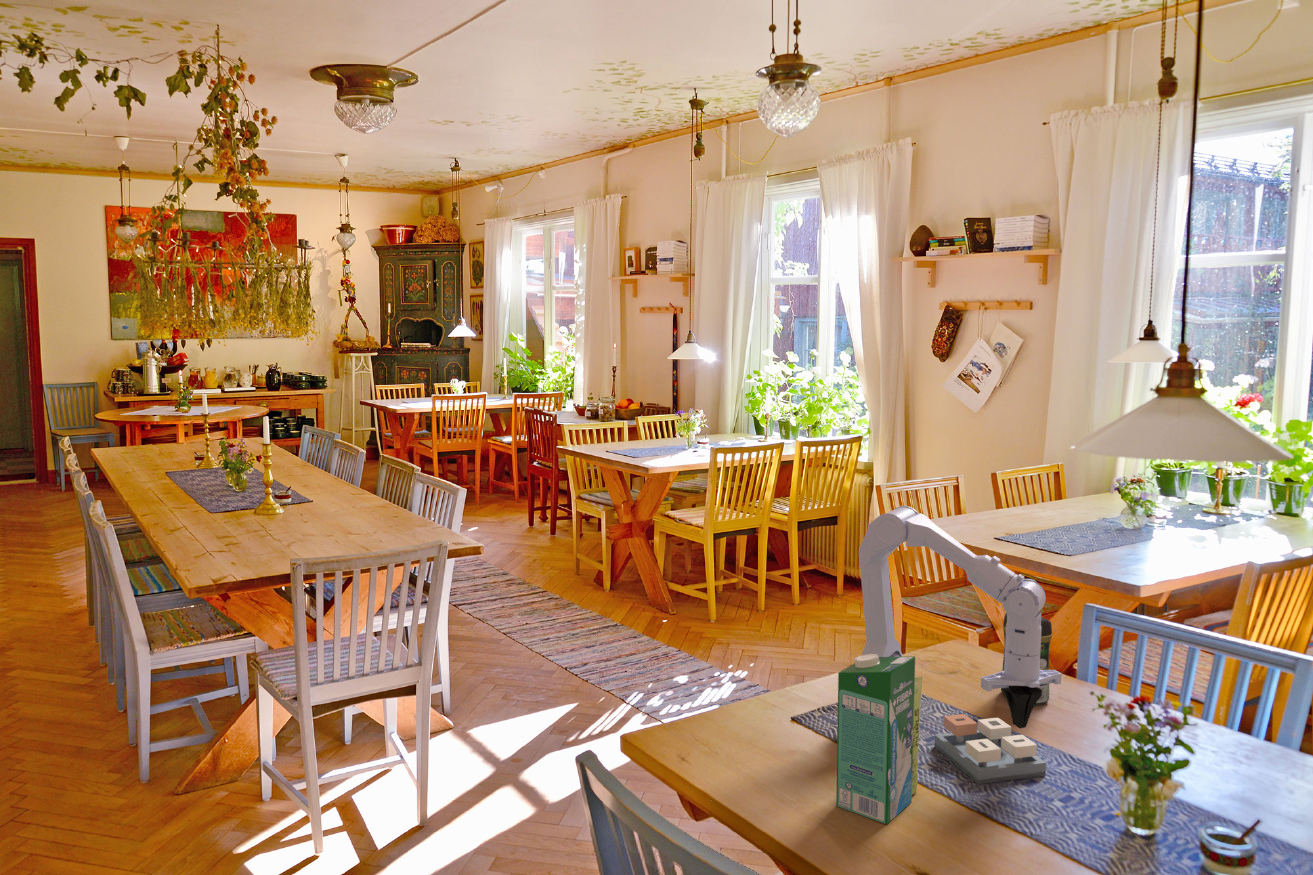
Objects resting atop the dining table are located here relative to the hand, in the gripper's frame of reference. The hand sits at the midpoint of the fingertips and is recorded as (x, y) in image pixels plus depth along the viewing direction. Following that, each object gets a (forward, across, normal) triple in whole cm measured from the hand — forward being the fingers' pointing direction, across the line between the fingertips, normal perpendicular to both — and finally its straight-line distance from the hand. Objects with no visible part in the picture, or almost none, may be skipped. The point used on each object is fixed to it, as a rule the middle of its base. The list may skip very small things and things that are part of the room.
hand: (1019, 725), depth 160 cm
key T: (+7, 0, 0) cm, 7 cm away
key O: (+7, 0, +8) cm, 10 cm away
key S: (+7, -7, 0) cm, 10 cm away
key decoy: (+5, -7, +8) cm, 12 cm away
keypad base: (+8, -4, +4) cm, 9 cm away
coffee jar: (+8, +20, +28) cm, 35 cm away
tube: (+8, -24, -2) cm, 25 cm away
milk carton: (+8, -30, -6) cm, 32 cm away
